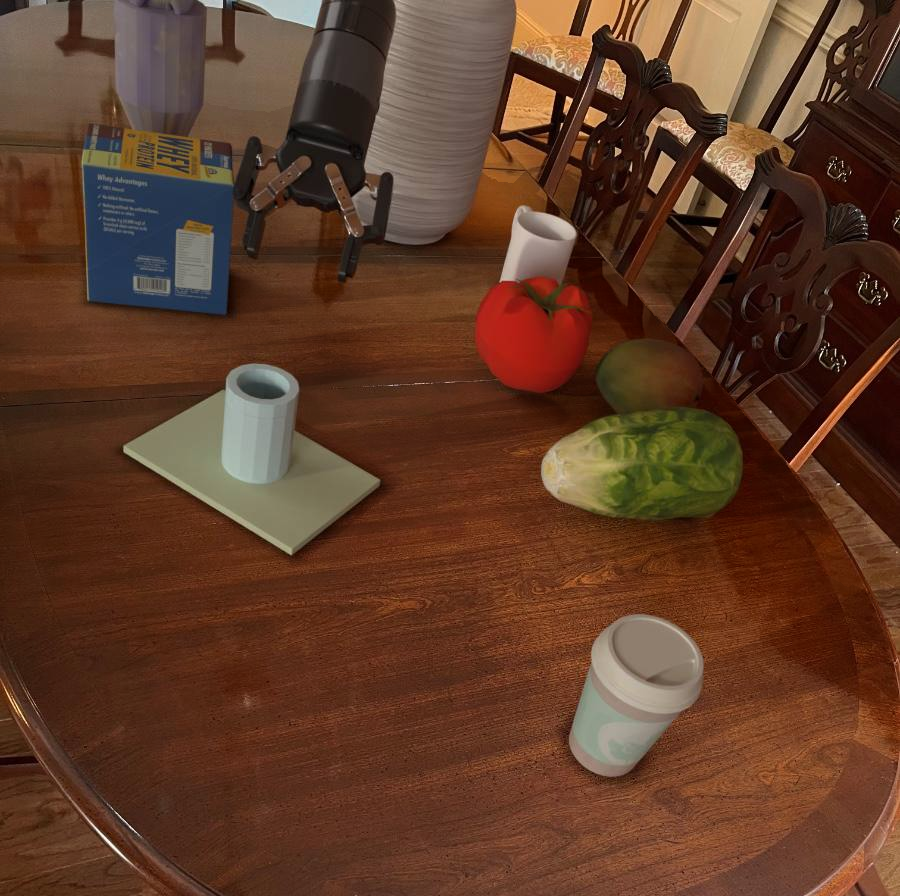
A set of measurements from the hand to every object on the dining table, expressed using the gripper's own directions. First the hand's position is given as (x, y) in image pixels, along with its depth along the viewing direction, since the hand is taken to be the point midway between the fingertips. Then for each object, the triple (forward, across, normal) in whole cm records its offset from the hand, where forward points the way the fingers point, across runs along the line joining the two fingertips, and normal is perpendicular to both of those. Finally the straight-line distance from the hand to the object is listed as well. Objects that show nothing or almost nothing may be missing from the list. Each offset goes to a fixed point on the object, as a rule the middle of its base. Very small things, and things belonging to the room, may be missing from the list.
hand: (296, 268), depth 91 cm
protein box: (-1, -19, +24) cm, 31 cm away
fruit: (0, +38, +23) cm, 45 cm away
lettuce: (+13, +37, +10) cm, 40 cm away
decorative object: (-16, -26, +39) cm, 50 cm away
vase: (-25, +4, +48) cm, 54 cm away
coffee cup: (+36, +35, -13) cm, 52 cm away
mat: (+19, 0, +4) cm, 19 cm away
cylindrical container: (+18, 0, +4) cm, 18 cm away
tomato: (-2, +24, +25) cm, 35 cm away
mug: (-16, +23, +40) cm, 49 cm away
